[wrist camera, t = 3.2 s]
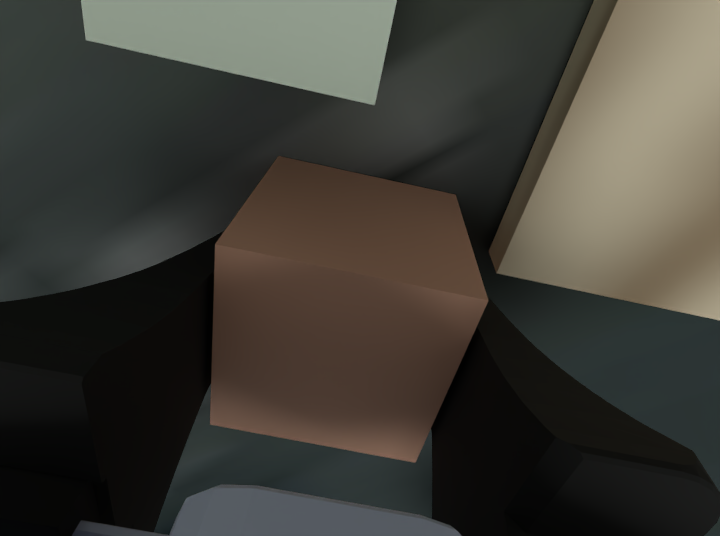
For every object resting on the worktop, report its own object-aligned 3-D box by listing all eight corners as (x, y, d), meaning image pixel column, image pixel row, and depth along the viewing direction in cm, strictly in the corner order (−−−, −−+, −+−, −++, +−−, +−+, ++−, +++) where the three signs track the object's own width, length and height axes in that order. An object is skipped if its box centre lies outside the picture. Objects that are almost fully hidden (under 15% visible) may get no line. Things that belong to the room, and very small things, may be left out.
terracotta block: (263, 299, 15) (210, 424, 10) (278, 155, 12) (215, 244, 8) (409, 329, 15) (415, 462, 11) (455, 194, 12) (488, 300, 8)
